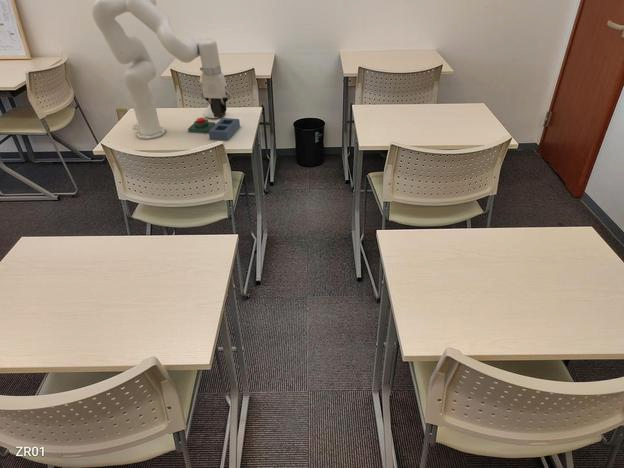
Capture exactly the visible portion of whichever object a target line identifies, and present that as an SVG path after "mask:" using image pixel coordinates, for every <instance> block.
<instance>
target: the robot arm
mask: <svg viewBox="0 0 624 468" xmlns="http://www.w3.org/2000/svg"><path fill="white" fill-rule="evenodd" d="M91 9H92V10H91V13H92V14H91V15H92V18H93V21H94V23H95V25H96V27H97V28H98V29H99V31H100V32H101V34H102V36H103V38H104V40H105V42H106V44H107V45H108V47H109V49H110V51H111V53H112V55H113V56H114V58H115V60H116V61H117V62H118V63H120V64H122V65H129V64H131V65H130V66H129V67H127V69H125V71H124V73H123V81H124V84H125V86H126V89H127V91H128V93H129V97H130V100H131V102H132V106H133V110H134V115H135V118H136V121H137V123H133V124H132V130H133V131H134V130H135V131H136V130H137V133H136V135H137V137H138V138H139V139H143V140H151V139H156V138H160V137H162V136H163V135H164V134H165V133H166V129H165V128H164V127H163V126H161V124H160V123H161V122H160V119H159V115H158V111H157V107H156V102H155V98H154V94H153V92H152V90H151V89H150V88H151V87H149V83H151V81H153V80H154V79H155V78H156V76H157V67H156V65H155V63H154V61H153V59H152V57H151V55H150V53H149V51H148V49H147V47H146V45H145V43H143V41H142V40H141V39H140V38H139V37H137V36H136V35H127V34H126V32H125V30H124V28H123V26H122V25H121V24H120V23H119V22H118V21H117V20H116V17H118V16H121V15H123V14H125V13H130V14H131V15H132V16H133V17H135V18H136V19H137V20H138V21H139V22H141V23H142V24H143V25H145V26H146V27H147V28H148V29H150V30H151V31H152V32H154V34H155V35H156V37H157V39H158V40H159V42H160V43H161V46H163V48H164V49H165V50H166V51H167V52H168V53H169V54H171V56H173V57H174V58H175V59H177V60H178V61H180V62H181V63H185V64H189V63H192V62H193V61H194V60H195V59H196V58H199V57H200V63H201V67H199V71H201V72H202V71H203V74H202V83H201V89H202V93H201V95H200V97H201V98H203V99H204V100H205V101H207V103H208V105H210V106H211V110H212V113H213V108H212V103H211V99H212V98H219V99H220V100H221V103H222V104H221V109H222V113H224V112H225V111H226V112H227V102H228V100H230V99H231V98H232V97H233V95H232V94H231V93H230V92H229V90H228V85H227V81H226V78H225V75H224V72H222V67H221V62H220V56H219V48H218V44H217V43H218V42H217V41H216V40H215V39H214V38H204V39H203V38H196V37H189V38H188V39H186V40H185V41H183V40H182V39H180V38H179V37H177V36H176V34H175V33H174V32H173V31H172V28H171V26H170V18H169V16H168V15H167V14H166V13H165V12H164V11H162V10H161V9H160V8H159V7H157V0H95V1H94V3H93V4H92V8H91Z"/></svg>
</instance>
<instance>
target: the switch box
mask: <svg viewBox="0 0 624 468" xmlns="http://www.w3.org/2000/svg"><path fill="white" fill-rule="evenodd" d="M204 119H205V123H201V124H198V123H197V119H196V120H195V121H194V122H193V124H191V125H190V126H189V127H188V128H187V130H188V133H196V134H197V133H198V134H209V130H210V129H211V128H212V127H213V126H214V125H215V124H216V122H215V121H209V120H208V119H206V118H204Z"/></svg>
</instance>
